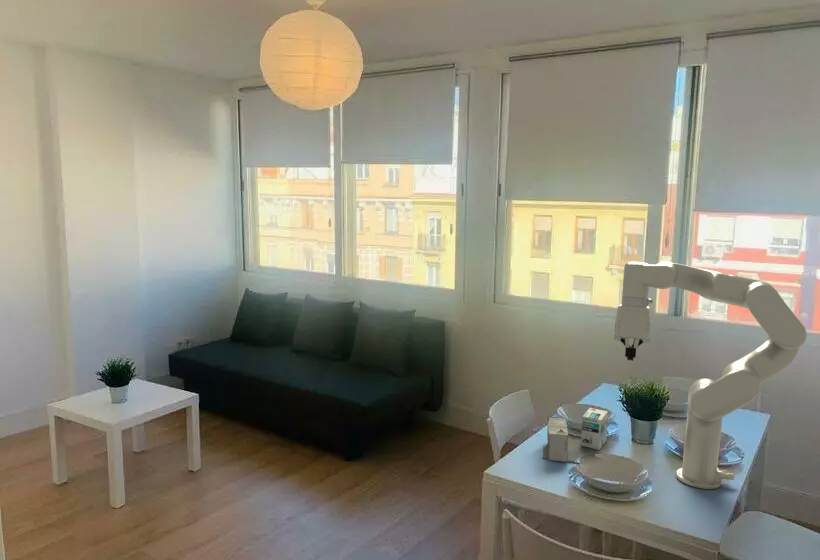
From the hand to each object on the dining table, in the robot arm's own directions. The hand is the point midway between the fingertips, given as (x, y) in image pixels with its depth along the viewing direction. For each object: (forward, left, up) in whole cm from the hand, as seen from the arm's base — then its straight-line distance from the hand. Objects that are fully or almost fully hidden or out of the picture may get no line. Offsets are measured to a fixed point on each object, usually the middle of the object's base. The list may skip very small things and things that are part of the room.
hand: (630, 359), depth 191 cm
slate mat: (+19, -1, -35) cm, 40 cm away
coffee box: (+20, +5, -30) cm, 36 cm away
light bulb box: (+8, -16, -35) cm, 40 cm away
